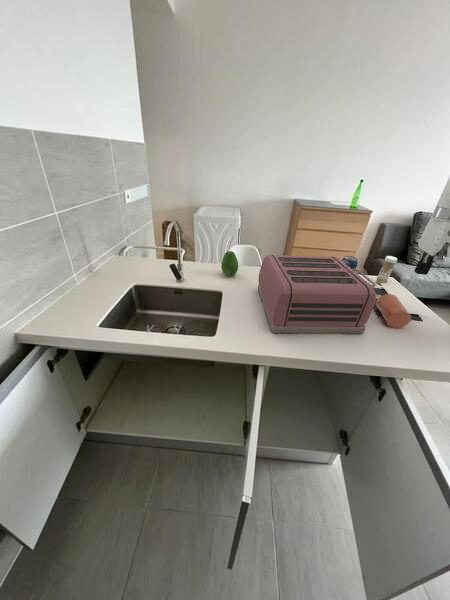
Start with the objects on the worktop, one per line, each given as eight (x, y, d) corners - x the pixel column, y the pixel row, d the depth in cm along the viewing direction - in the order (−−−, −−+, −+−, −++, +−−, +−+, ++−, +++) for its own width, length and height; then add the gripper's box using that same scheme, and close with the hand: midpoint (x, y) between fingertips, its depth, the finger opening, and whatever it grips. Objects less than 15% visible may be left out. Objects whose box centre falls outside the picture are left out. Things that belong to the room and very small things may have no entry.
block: (384, 299, 96) (381, 306, 98) (380, 294, 99) (377, 301, 101) (375, 298, 96) (372, 305, 98) (371, 294, 99) (368, 301, 101)
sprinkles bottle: (373, 281, 118) (383, 255, 111) (380, 281, 119) (391, 255, 112) (380, 286, 114) (391, 259, 107) (388, 285, 115) (400, 259, 108)
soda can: (340, 285, 113) (348, 261, 107) (332, 278, 119) (339, 255, 113) (353, 284, 114) (362, 260, 108) (344, 278, 120) (352, 255, 114)
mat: (396, 291, 111) (397, 290, 111) (422, 321, 91) (423, 320, 91) (359, 286, 113) (360, 285, 113) (377, 315, 93) (377, 314, 93)
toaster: (376, 334, 82) (397, 290, 73) (270, 334, 80) (279, 288, 71) (336, 291, 108) (349, 254, 99) (255, 289, 106) (260, 251, 97)
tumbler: (403, 329, 86) (391, 311, 95) (416, 313, 82) (401, 296, 91) (382, 325, 87) (372, 307, 96) (393, 309, 82) (382, 292, 91)
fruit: (235, 280, 112) (237, 255, 106) (219, 277, 114) (220, 253, 108) (238, 273, 119) (241, 249, 113) (223, 270, 120) (224, 247, 114)
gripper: (482, 221, 62) (446, 285, 71) (448, 210, 74) (421, 265, 84) (450, 219, 63) (418, 282, 73) (421, 208, 76) (398, 263, 85)
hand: (420, 273), depth 78 cm, fingers closed
